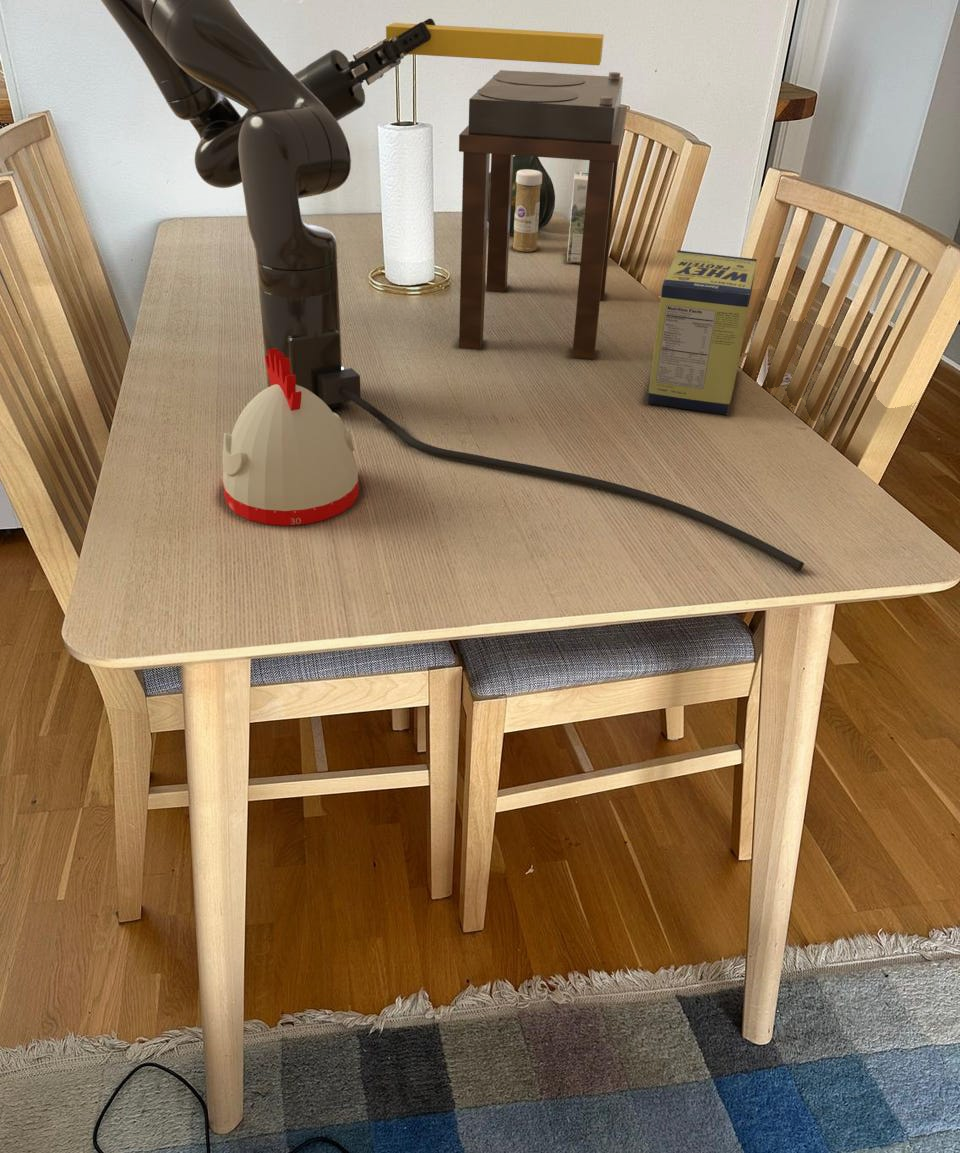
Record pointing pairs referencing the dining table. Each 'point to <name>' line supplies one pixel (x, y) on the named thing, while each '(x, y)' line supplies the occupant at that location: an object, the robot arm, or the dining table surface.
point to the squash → (545, 190)
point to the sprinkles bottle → (527, 210)
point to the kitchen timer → (288, 455)
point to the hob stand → (539, 129)
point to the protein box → (700, 331)
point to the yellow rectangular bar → (506, 44)
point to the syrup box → (577, 217)
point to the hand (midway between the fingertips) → (431, 27)
